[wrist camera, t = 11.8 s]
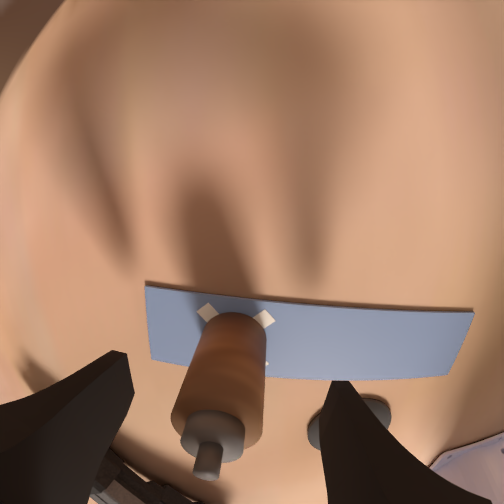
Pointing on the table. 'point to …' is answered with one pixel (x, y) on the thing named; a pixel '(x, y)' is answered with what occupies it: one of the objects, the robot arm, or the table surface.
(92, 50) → the table surface
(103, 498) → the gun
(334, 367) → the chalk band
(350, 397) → the robot arm
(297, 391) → the table surface
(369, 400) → the coaster
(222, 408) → the awl
